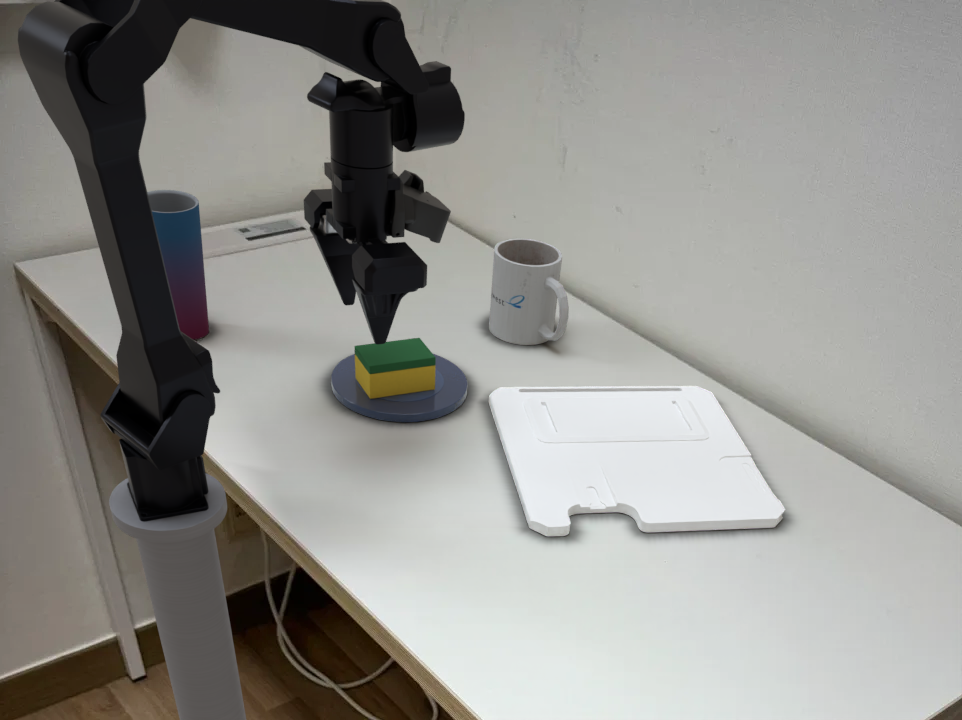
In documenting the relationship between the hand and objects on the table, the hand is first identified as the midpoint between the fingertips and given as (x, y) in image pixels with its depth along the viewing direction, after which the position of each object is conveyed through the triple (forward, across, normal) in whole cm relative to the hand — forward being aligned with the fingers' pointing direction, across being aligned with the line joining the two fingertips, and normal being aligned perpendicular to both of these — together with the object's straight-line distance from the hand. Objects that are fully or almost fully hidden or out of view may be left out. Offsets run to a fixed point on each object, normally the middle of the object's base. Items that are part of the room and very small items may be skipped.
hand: (364, 323), depth 102 cm
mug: (+11, +14, -28) cm, 33 cm away
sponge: (+10, +6, -6) cm, 13 cm away
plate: (+11, +7, -7) cm, 15 cm away
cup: (+12, +27, +13) cm, 32 cm away
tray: (+11, -16, -26) cm, 32 cm away
